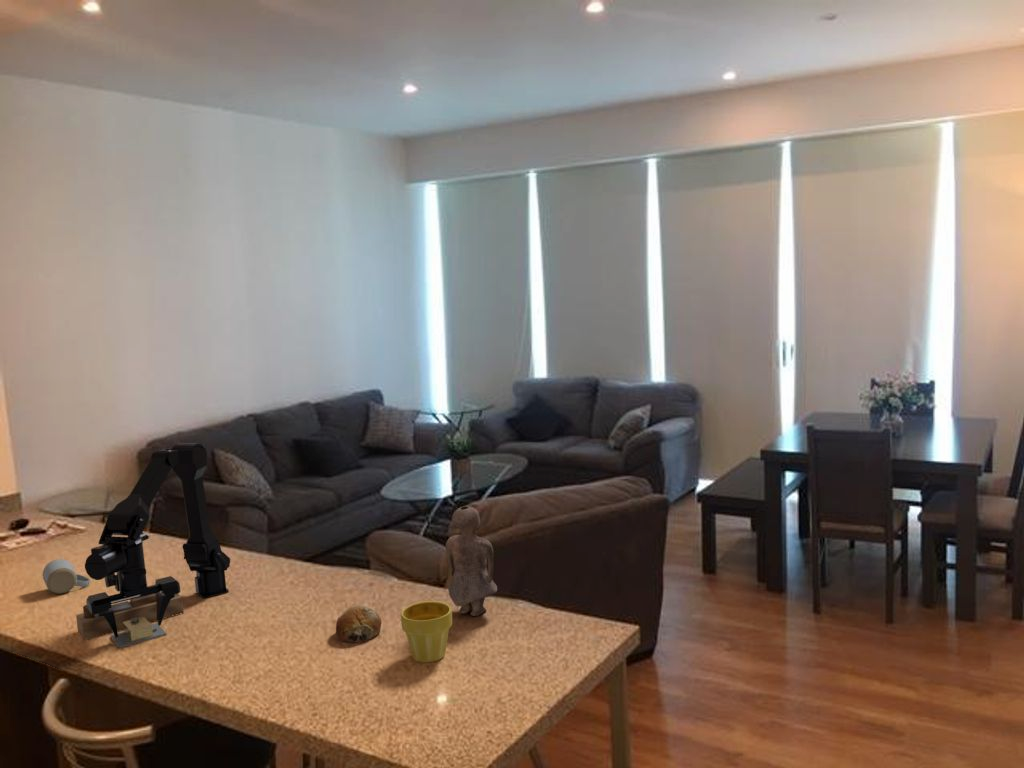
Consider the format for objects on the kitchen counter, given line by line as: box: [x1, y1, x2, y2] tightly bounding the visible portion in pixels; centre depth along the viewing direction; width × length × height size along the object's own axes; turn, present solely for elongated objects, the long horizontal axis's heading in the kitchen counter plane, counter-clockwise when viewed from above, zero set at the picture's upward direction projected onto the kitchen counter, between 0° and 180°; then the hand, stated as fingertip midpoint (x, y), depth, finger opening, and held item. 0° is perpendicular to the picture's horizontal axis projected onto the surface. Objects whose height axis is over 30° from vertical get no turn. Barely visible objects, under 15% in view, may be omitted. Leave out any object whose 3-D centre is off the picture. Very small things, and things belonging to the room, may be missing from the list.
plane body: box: [75, 593, 184, 640], centre depth 202 cm, size 22×6×6 cm, turn 127°
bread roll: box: [335, 604, 382, 643], centre depth 189 cm, size 10×10×8 cm
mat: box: [110, 622, 167, 649], centre depth 194 cm, size 10×8×1 cm
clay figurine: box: [445, 505, 498, 617], centre depth 197 cm, size 13×10×25 cm
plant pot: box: [400, 600, 453, 663], centre depth 176 cm, size 10×10×10 cm
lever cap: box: [122, 617, 153, 642], centre depth 194 cm, size 7×5×3 cm, turn 38°
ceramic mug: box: [42, 558, 91, 595], centre depth 228 cm, size 11×8×8 cm
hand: (138, 630), depth 194 cm, fingers open, 9 cm apart
